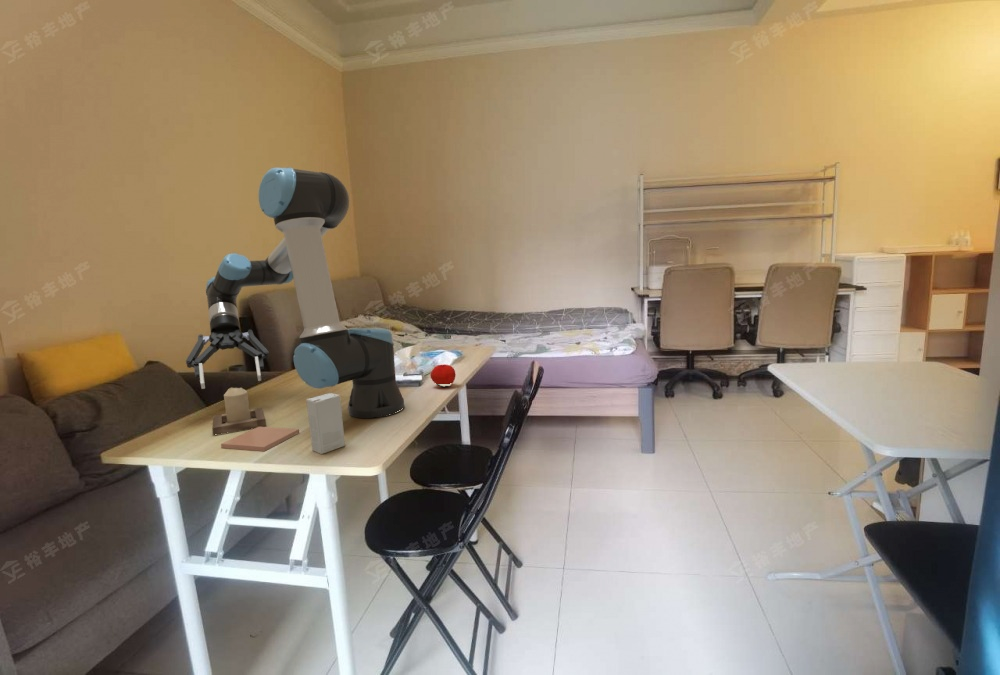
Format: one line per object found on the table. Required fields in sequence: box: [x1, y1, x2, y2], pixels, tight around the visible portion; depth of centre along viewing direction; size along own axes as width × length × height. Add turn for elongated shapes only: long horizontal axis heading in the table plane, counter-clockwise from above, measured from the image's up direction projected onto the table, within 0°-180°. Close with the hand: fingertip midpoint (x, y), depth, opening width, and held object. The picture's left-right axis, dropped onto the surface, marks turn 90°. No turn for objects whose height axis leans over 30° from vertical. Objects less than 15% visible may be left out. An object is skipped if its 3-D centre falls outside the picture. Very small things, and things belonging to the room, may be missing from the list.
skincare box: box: [306, 392, 346, 455], centre depth 112 cm, size 6×4×12 cm
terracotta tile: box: [220, 426, 300, 452], centre depth 120 cm, size 12×12×1 cm
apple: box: [430, 363, 456, 385], centre depth 162 cm, size 8×8×7 cm
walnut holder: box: [212, 407, 267, 436], centre depth 133 cm, size 12×12×2 cm
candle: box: [223, 387, 252, 423], centre depth 132 cm, size 6×6×10 cm
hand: (231, 382), depth 136 cm, fingers open, 13 cm apart
